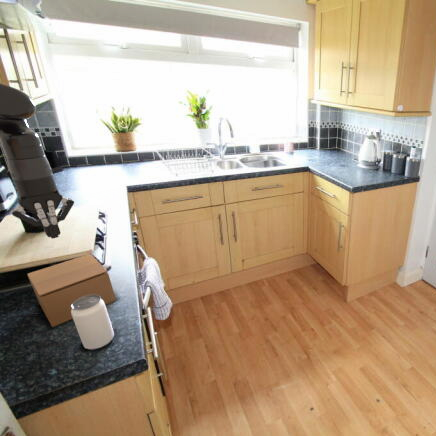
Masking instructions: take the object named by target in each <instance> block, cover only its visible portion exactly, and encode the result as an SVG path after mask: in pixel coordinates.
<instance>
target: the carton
mask: <svg viewBox="0 0 436 436" xmlns="http://www.w3.org/2000/svg"><path fill="white" fill-rule="evenodd" d="M27 277H28V280H29V282H30V284H31V287H32V289H33V291H34V293H35V296H36V299H37V302H38V303H39V305H40V307H41V309H42V311H43V313H44V315H45V316H46V318H47V321H48V322H49V324H50V327H52V328H55V327H57V326H59V325H61V324H64V323H66V322H68V321H70V320H73V317H72V314H71V310H72V307H71V305H72V303H73V302H74V301H76V300H77V299H79V298H81V297H83V296H87V295H99V296H100V298H101V299H102V300H103V301H104V303H105V306H107V305H109V304H111V303H112V302H115V301H117V299H116V294H115V291H114V289H113V285H112V282H111V278H110V275H109V272H108V270H107V269H106V268H105V267H104V266H103V265H102V264H101V262H100V261H98V262H97V263H94V264H91V265H88V266H85V267H82V268H79V269H76V270H73V271H70V272H67V273H64V274H61V275H58V276H56V277H53V278H50V279H47V280H44V281H41V282H38V283H35V284H32V282H31V280H30V278H29V276H28V275H27Z"/></svg>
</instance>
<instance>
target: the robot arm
mask: <svg viewBox="0 0 436 436" xmlns="http://www.w3.org/2000/svg"><path fill="white" fill-rule="evenodd" d="M36 109H37V108H36V104H35V102H34V101H33V99H32V98H31V96H29V94H28V93H26V92H24V91H22V90H20V89H18V88H16V87H13V86H10V85H7V84H4V83H0V145H1V148H2V151H3V153H4V155H5V158H6V163H7V168H8V172H9V173H10V176H11V179H12V181H13V184H14V187H15V189H16V192H17V194H18V198H19V199H18V205H17V206H16V207H15V208H12V209H11V210H10V213H11V215H12V216H13V217H15V218H17V219H19V220H21V221H23V222H25V223H27V224H28V225H31V226H33V227H35V228H37V227H43V230H44V233H45V236H47V237H48V238H50V239H53V240H54V239H57V238H59V236H60V235H61V230H60V227H59V223H60V222H62V221H65V220H66V218H67V216H68V215H69V213H70V211H71V209H72V208H73V206H74V204H75V201H74V200H73V199H72V198H71V197H64V196H63V194H61V192H60V191H59V190H58V186H57V184H56V180H55V177H54V173H53V169H52V167H51V164H50V162H49V160H48V158H47V155H46V153H45V150H44V147H43V144H42V141H41V138H40V137H39V135H38V133H36V132H35V131H34V130H32V129H31V128H30V127H29V124H28V123H27V120H29V119H31V118H32V117H33V116H34V115H35V113H36V111H37V110H36ZM60 205H62V206H61V207H60V209H59V211H58V213H56V210H58V208H59V206H60ZM24 209H25V210H27V211H29V212H30V213H32V214H34V215H36V216H37V217H38V219H36V218H34V217H32V216H30V215H28V214H26V213H27V212H26V211H25V210H24ZM46 214H47V215H46ZM47 217H48V218H47Z"/></svg>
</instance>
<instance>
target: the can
mask: <svg viewBox="0 0 436 436" xmlns="http://www.w3.org/2000/svg"><path fill="white" fill-rule="evenodd" d="M71 307H72V310H71V314H72V317H73V319H72V320H73V322H74V325H75V328H76V331H77V333H78V335H79V338H80V341H81V343H82V346H83V348H84V349H87V350H97V349H98V350H99V349H101V348H103V347H105V346H107V345H108V344H110V343H111V341H113V339H114V337H115V331H114V328H113V326H112V325H113V324H112V322H111V319H110V315H109V312H108V309H107V305H105V303H104V301H103V300H102V299H101V298H100V296H99V295H87V296H83V297H81V298H79V299H77V300H76V301H74V302H73V303H72V305H71Z"/></svg>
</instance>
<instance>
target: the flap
mask: <svg viewBox="0 0 436 436" xmlns="http://www.w3.org/2000/svg"><path fill="white" fill-rule="evenodd" d="M97 262H99V261H98V259H96V258H95V256H94V255H93V254H92V253H89V254H88V253H87V254H86V255H81V256H79V257H75V258H73V259H70V260H67V261H63V262H60V263H57V264H54V265H53V264H52V265H50V266H48V267H44V268H41V269H38V270H35V271H32V272H29V273H27V277H28V276H29V277H28V279H29V278H30V280H31V282H32V284H35V283H38V282H41V281H44V280H47V279H50V278H53V277H56V276H58V275H61V274H64V273H67V272H70V271H73V270H76V269H79V268H82V267H85V266H88V265H91V264H94V263H97ZM30 280H29V281H30ZM31 282H30V283H31Z"/></svg>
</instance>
